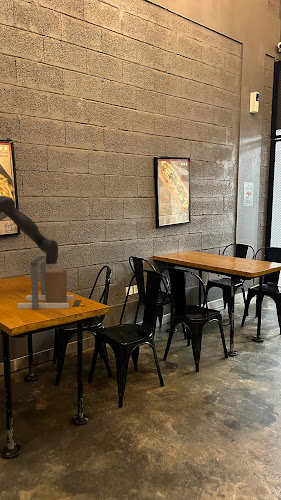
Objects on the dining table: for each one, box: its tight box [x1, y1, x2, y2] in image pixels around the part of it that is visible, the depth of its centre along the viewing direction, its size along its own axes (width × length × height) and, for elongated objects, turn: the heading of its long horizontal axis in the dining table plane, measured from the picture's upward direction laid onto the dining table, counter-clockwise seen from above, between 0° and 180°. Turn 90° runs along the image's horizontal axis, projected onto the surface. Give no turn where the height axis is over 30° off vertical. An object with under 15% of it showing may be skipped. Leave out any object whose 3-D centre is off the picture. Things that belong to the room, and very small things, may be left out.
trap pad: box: [71, 299, 82, 308], centre depth 224 cm, size 14×4×1 cm, turn 2°
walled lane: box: [17, 294, 74, 309], centre depth 224 cm, size 20×28×2 cm
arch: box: [30, 255, 46, 310], centre depth 222 cm, size 24×3×26 cm, turn 2°
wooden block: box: [45, 268, 68, 303], centre depth 222 cm, size 10×10×20 cm
